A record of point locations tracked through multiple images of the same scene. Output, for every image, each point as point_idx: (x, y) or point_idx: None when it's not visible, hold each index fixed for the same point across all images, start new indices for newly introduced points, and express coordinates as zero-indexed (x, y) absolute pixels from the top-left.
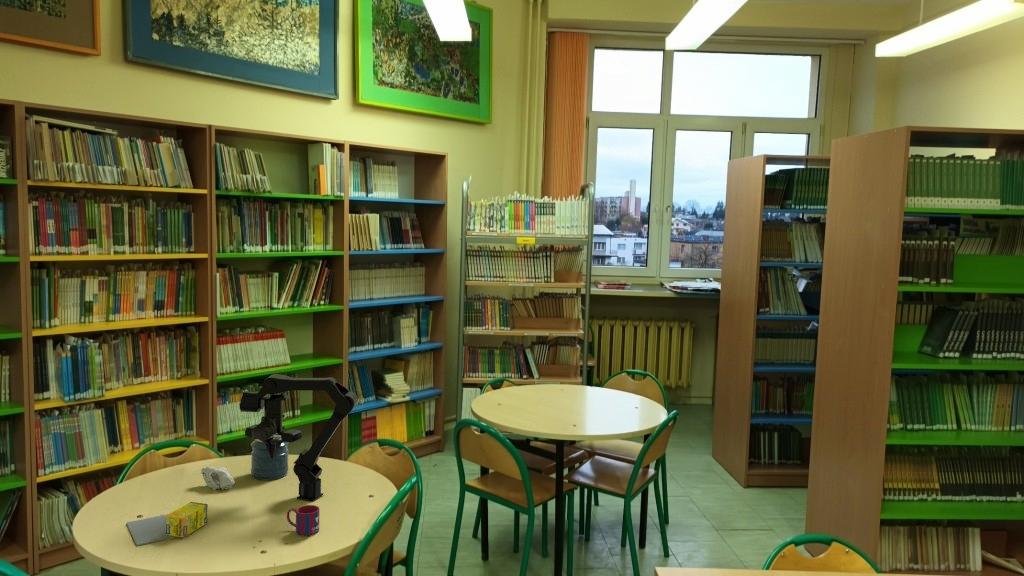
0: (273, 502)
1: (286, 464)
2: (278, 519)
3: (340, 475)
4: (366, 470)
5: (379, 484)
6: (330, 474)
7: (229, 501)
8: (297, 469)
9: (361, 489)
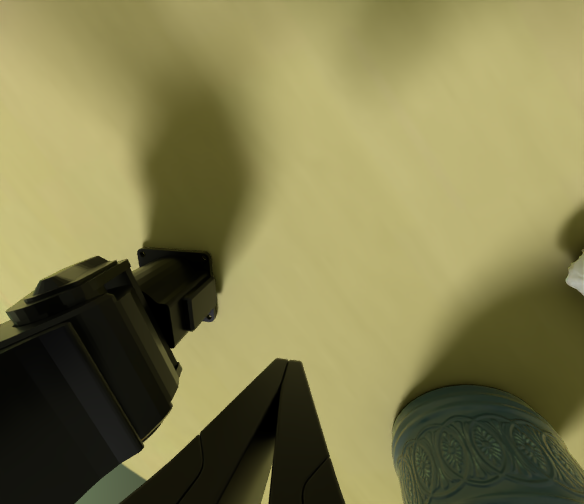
0: (271, 190)
1: (400, 487)
2: (127, 24)
3: None
4: None
5: None
6: None
7: (484, 121)
8: (62, 285)
9: None
